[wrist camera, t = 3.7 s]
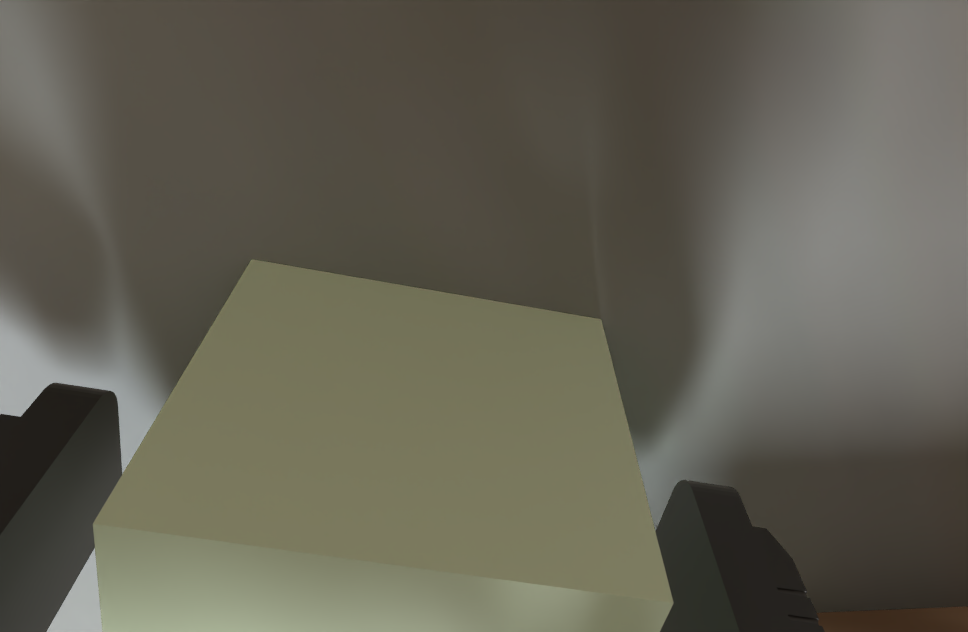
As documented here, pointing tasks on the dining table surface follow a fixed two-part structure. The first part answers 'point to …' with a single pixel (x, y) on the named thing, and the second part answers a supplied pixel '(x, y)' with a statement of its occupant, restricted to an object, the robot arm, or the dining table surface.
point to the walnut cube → (897, 620)
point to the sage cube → (384, 473)
